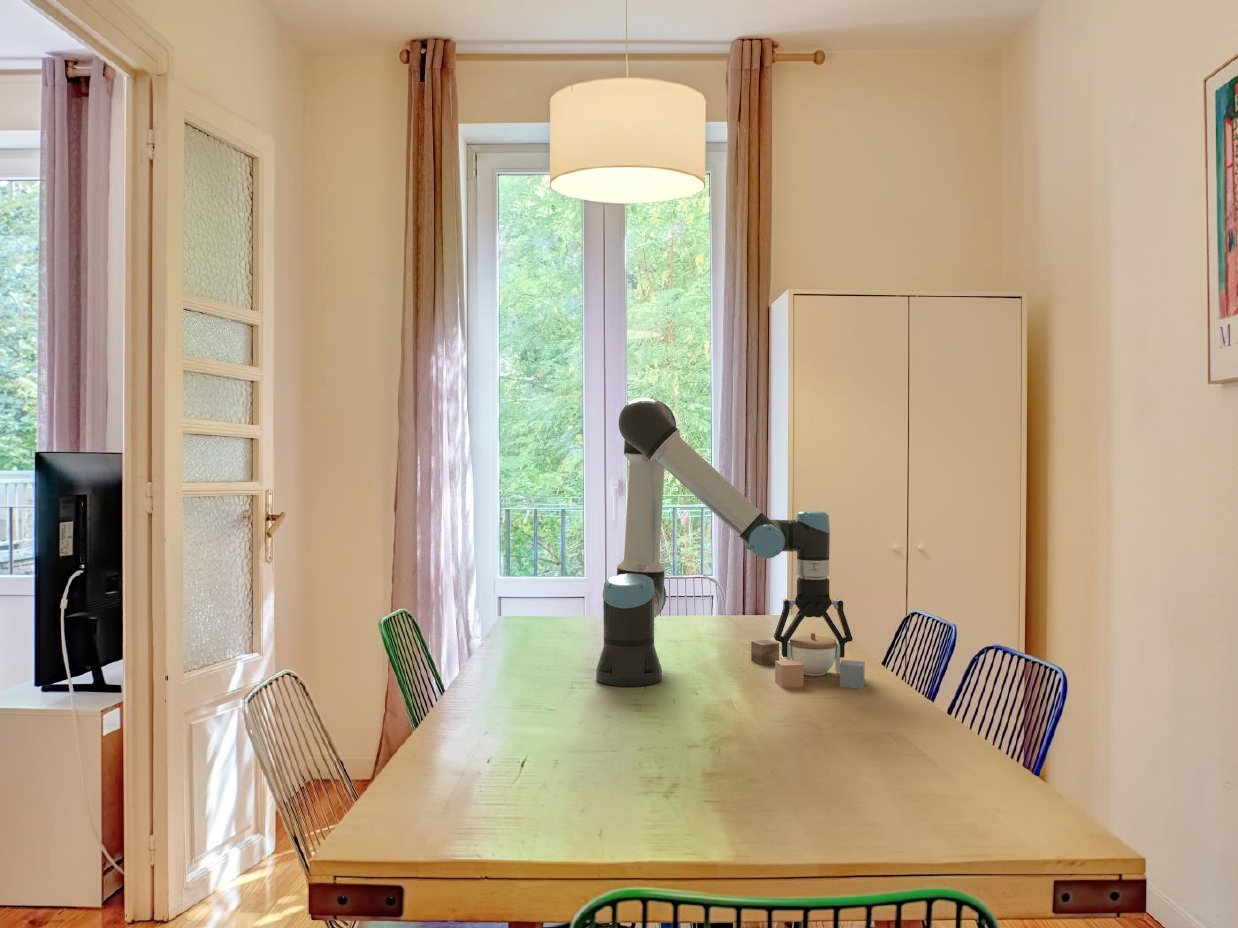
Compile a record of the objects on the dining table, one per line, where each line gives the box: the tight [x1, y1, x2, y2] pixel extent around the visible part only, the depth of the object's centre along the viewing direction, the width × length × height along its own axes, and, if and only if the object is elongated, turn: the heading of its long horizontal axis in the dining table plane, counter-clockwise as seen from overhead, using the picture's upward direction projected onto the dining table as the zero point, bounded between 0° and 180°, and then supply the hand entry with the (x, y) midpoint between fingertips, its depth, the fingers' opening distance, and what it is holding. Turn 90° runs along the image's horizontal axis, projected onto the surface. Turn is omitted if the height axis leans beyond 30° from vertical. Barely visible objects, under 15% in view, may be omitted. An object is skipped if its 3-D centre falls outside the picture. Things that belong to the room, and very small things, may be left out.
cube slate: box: [839, 659, 866, 689], centre depth 220 cm, size 5×5×5 cm
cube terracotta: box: [774, 659, 804, 689], centre depth 220 cm, size 5×5×5 cm
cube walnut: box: [750, 639, 780, 666], centre depth 243 cm, size 5×5×5 cm
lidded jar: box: [789, 632, 837, 677], centre depth 231 cm, size 11×11×9 cm
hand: (812, 670), depth 231 cm, fingers closed on lidded jar, 11 cm apart
